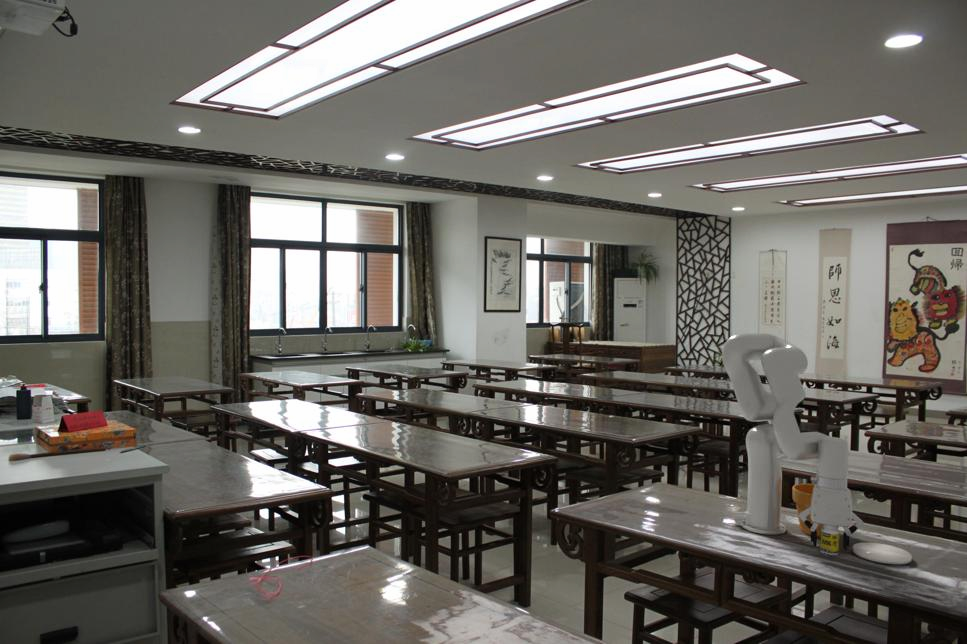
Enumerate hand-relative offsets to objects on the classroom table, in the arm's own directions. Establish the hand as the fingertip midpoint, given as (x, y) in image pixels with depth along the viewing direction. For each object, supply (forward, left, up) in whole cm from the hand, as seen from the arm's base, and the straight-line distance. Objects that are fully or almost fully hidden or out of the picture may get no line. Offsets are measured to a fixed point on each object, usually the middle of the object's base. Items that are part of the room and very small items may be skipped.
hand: (829, 546), depth 198 cm
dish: (+13, +2, -2) cm, 13 cm away
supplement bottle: (0, 0, -2) cm, 2 cm away
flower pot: (-2, +18, -2) cm, 18 cm away
